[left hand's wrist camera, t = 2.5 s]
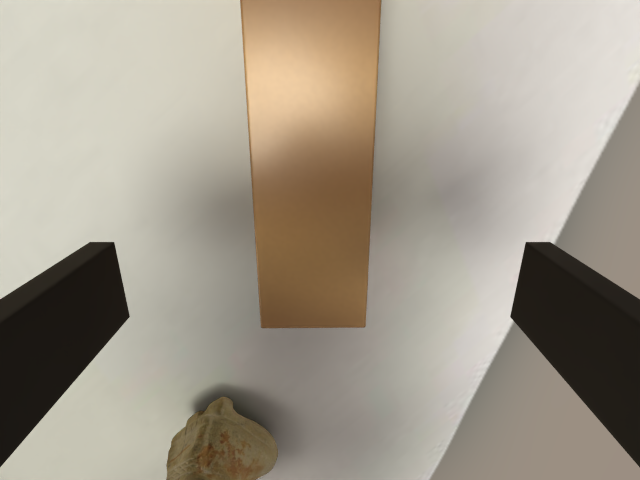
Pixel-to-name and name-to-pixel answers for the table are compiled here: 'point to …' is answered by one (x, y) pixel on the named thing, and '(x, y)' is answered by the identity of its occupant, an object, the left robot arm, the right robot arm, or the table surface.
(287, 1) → the bar
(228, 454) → the sculpture
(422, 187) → the table surface
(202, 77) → the table surface
